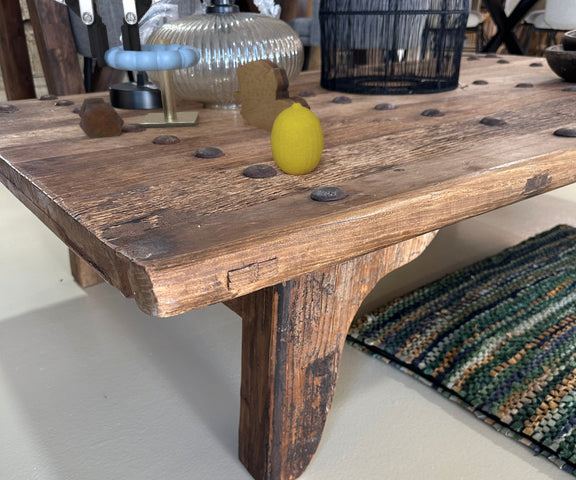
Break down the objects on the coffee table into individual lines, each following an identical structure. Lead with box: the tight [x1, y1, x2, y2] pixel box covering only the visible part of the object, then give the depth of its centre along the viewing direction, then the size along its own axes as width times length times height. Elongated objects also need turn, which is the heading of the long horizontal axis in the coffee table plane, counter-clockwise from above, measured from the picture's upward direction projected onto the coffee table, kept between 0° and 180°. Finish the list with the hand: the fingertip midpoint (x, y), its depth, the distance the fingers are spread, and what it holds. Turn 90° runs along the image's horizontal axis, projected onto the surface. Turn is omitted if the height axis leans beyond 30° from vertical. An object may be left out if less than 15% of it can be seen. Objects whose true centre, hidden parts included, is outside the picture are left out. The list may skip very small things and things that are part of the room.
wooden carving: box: [232, 58, 312, 133], centre depth 78 cm, size 16×5×10 cm, turn 39°
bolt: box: [78, 97, 125, 140], centre depth 83 cm, size 6×5×15 cm
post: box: [139, 38, 200, 129], centre depth 85 cm, size 8×8×12 cm
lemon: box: [270, 103, 325, 176], centre depth 59 cm, size 6×6×8 cm
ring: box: [104, 43, 202, 72], centre depth 59 cm, size 10×10×2 cm
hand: (118, 64), depth 60 cm, fingers closed on ring, 2 cm apart
